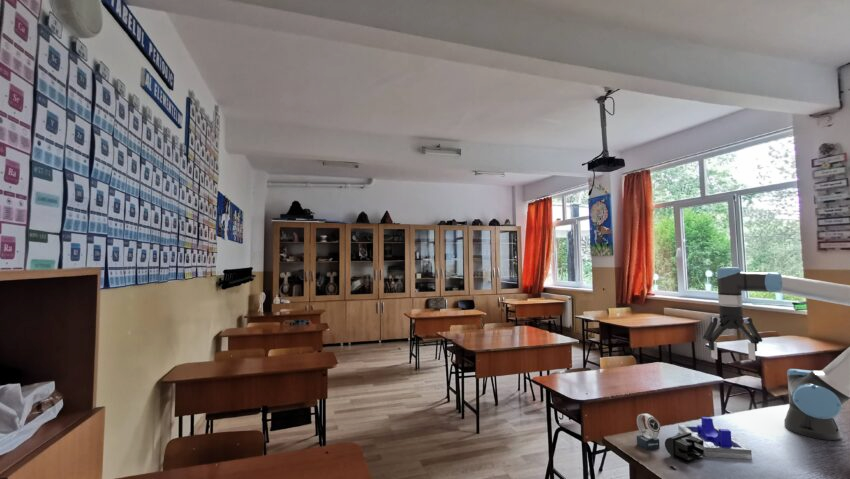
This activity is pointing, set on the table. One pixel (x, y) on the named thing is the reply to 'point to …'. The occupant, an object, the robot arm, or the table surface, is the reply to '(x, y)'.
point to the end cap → (684, 448)
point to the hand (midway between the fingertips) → (733, 359)
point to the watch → (647, 439)
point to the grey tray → (713, 449)
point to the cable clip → (714, 433)
